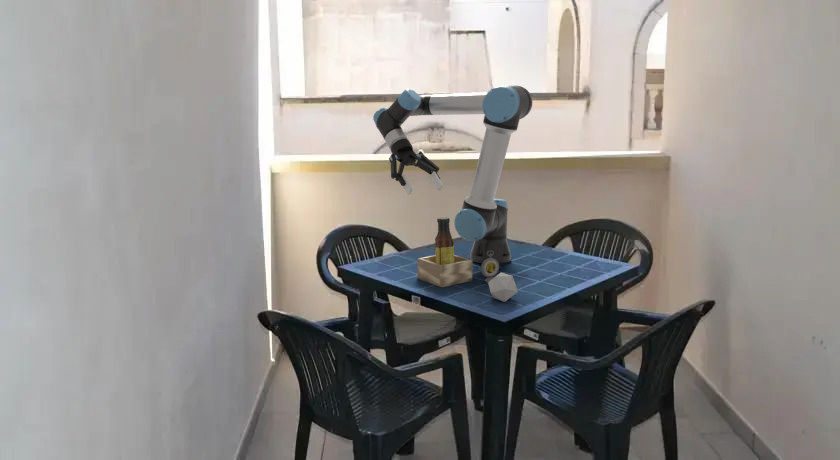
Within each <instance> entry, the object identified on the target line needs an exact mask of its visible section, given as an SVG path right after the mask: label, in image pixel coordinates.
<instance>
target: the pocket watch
mask: <svg viewBox="0 0 840 460" xmlns="http://www.w3.org/2000/svg"><path fill="white" fill-rule="evenodd" d="M488 252H489V251H488ZM488 252H487V255H488ZM492 252H493V251H492ZM493 254H494V252H493ZM493 254H491V253H490V255H488V256H490V258H488V259H486V260H484V262H483V263H481V266H480V271H481V274H482V275H483V277H486V278H485V280H484V282H485V283H487V284H488V282H489V281H490V280H492V279H493V278H494V277H496V276H497V275H498V274H499V269H500V264H499V263H498V261H497V260H496V259H494V258H491V256H492V255H493Z"/></svg>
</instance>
